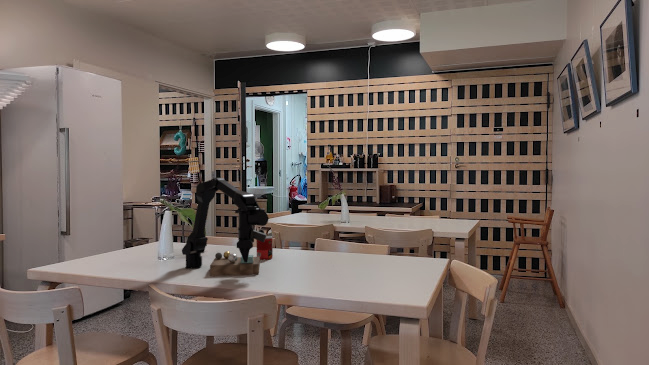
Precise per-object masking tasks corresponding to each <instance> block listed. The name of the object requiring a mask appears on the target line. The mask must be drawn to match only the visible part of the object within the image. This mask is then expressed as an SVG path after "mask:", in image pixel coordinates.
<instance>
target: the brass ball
mask: <svg viewBox="0 0 649 365" xmlns="http://www.w3.org/2000/svg"><path fill="white" fill-rule="evenodd" d="M230 254H231V252H230V251H228V250H227V251H224V253H223V254H222V257H223V258H226V259H228V256H229V255H230Z"/></svg>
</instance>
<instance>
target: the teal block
mask: <svg viewBox="0 0 649 365" xmlns="http://www.w3.org/2000/svg"><path fill="white" fill-rule="evenodd" d="M240 257H241V263H253V257H254V255H253V254H249V256H248V261H247V262H244V260H243V257H242V255H241V254H240Z"/></svg>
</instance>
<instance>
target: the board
mask: <svg viewBox="0 0 649 365" xmlns="http://www.w3.org/2000/svg"><path fill="white" fill-rule="evenodd" d="M237 258H238V259H237V261H236V262H235V263H230V262H229V261H228V259H226V258H224V257H222V258H221V259H216V257H215V258H213V260H212V262H211V263H210V266H209V276H210V277H215V276H216V277H220V276H221V277H222V276H250V275H249V274H260V267H261V266H260V265H261V263H260V262H261V260H260V257H257V256H253V263H241V256H239V257H238V256H237Z"/></svg>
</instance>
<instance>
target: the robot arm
mask: <svg viewBox="0 0 649 365" xmlns="http://www.w3.org/2000/svg"><path fill="white" fill-rule="evenodd" d="M218 191H220V192H222V193H224V195H226V196H227V197H229V198H231V199H232V202H233V204H234V205H235V206H236V207H237V209H236V210H235V211H234V213H235V214H238V228H237V229H238V237H237V238H238V239H237V241H236V249H238V251H239V253H240V256H241V255H242V257H243V260H244V262H247V261H248V256H249V255H250V250H251V249H253V247H254V243H255V240H256V241H257V240H259V241H261V242H264V241H265V238H266V236H268V235H267V233H265V230H264V229H262V228H261V229H258V230H256V229H254V228H255V226H257V227H258V226H261V227H265V226H266V225H268V223H269V215H268V214H267V212H266V211H265V210H266V209H265V208H261V207H260V206H259V204H258V202H257V200H256V198H255V195H254V194H253V193H249V192H248V191H243V190H240V189H239V188H237V187H236V186H234V185H233V184H231V183H229V182H228V181H227V180H225V178H223V177H213V178H211V179H209V180H207V181H204V182H199V183H198V184H197V185H196V187H195V196H196V200H197V206H196V212H195V217H194V221H193V222H194V223H193V226H192V232H191V233H190V234H189V235H188V237H187V240H186V243H185V245H184V246H183V247H182V249H181V252H182V255H183V256H185V267H184V269H200V268H201V267H202V266H203V255H202V254H204V253H205V250H206V247H207V244H208V241H209V240H208V239H209V238H208V237H207V236H206V234H205V231H206V230H205V229H206V224H207V220H208V219H207V218H208V213H209V208H210V203H211V202H212V201H213V199H214V198H215V195H216V193H217V192H218Z"/></svg>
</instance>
